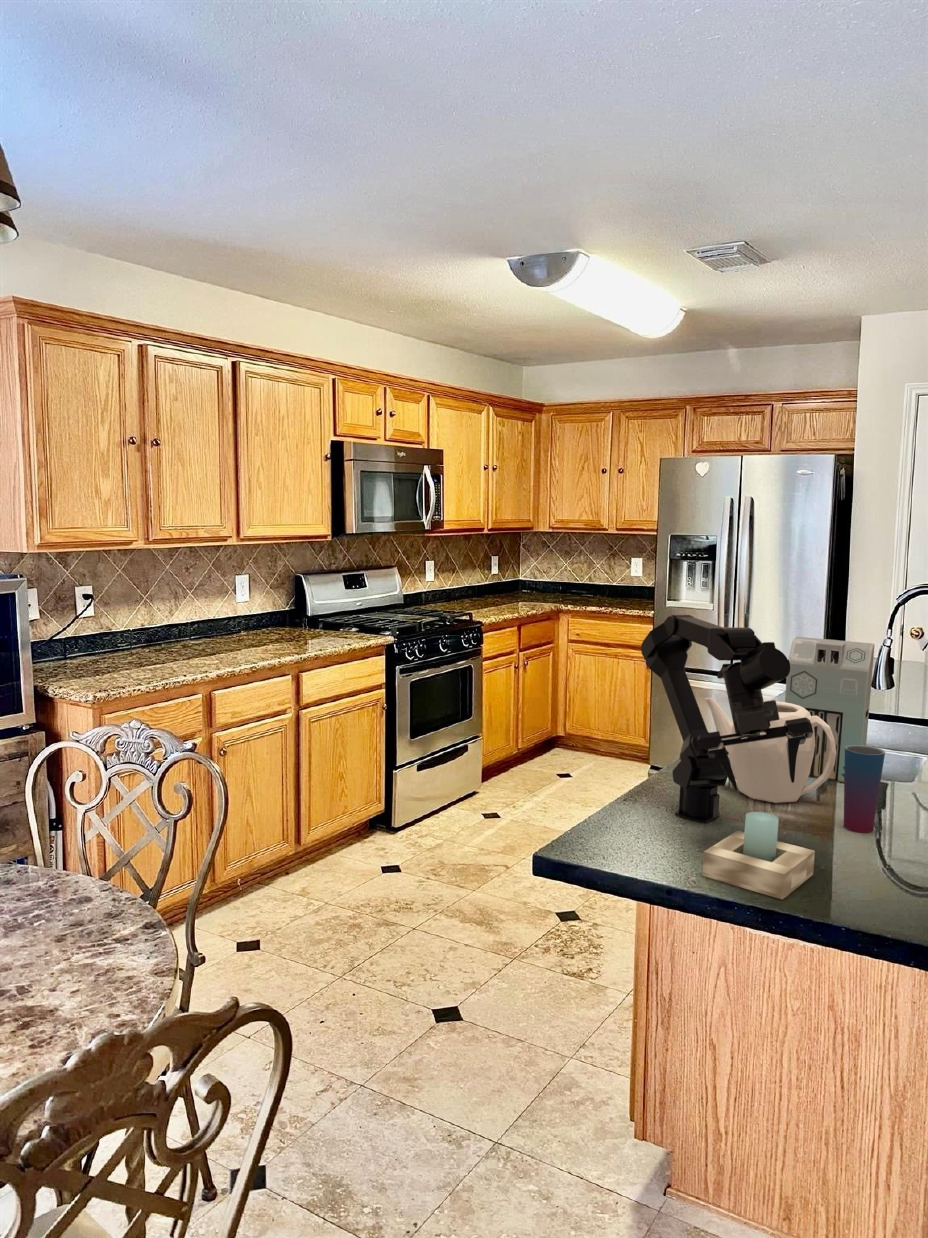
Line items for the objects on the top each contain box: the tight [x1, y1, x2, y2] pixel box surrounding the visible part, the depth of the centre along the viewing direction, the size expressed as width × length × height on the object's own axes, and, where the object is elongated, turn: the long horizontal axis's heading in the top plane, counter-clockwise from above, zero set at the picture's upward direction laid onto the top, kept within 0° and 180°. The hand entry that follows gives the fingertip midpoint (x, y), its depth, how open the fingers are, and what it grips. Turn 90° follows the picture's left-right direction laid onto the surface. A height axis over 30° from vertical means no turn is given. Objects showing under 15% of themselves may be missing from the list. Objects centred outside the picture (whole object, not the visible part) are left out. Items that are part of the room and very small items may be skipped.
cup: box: [843, 744, 886, 834], centre depth 169 cm, size 7×7×15 cm
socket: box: [701, 830, 816, 901], centre depth 146 cm, size 13×13×4 cm
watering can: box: [704, 697, 836, 804], centre depth 187 cm, size 16×27×19 cm, turn 59°
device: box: [784, 636, 875, 784], centre depth 201 cm, size 16×8×30 cm, turn 60°
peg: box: [743, 811, 780, 862], centre depth 146 cm, size 5×5×9 cm
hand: (764, 786), depth 153 cm, fingers open, 9 cm apart
